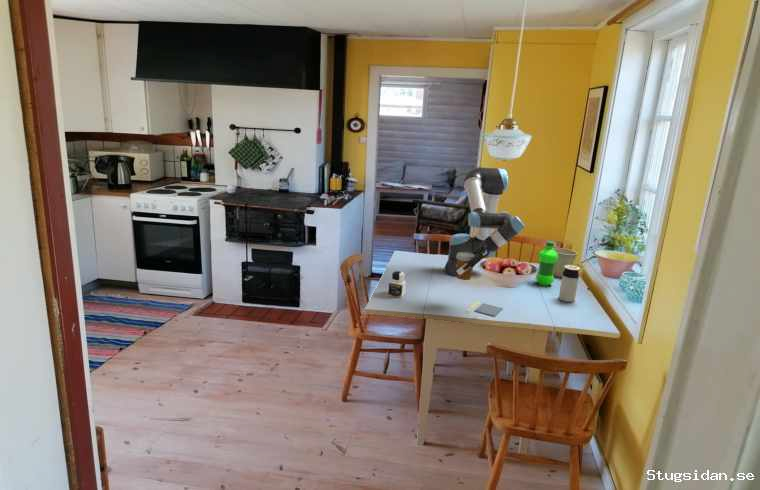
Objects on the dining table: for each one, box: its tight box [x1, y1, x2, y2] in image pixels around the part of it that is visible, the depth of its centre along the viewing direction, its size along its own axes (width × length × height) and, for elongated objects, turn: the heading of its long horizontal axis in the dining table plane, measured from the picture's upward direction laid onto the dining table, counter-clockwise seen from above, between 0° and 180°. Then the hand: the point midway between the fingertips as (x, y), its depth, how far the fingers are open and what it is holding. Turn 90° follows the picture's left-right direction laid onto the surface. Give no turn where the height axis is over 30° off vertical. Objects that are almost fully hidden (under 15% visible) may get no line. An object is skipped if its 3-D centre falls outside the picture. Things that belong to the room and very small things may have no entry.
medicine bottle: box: [387, 271, 407, 299], centre depth 245 cm, size 7×7×12 cm
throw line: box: [465, 301, 481, 313], centre depth 237 cm, size 1×16×1 cm, turn 149°
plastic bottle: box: [535, 241, 558, 287], centre depth 275 cm, size 10×10×25 cm
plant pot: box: [553, 247, 578, 278], centre depth 295 cm, size 15×15×16 cm
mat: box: [474, 302, 504, 317], centre depth 234 cm, size 10×12×1 cm
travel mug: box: [558, 265, 581, 303], centre depth 254 cm, size 8×8×18 cm
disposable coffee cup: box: [456, 252, 475, 281], centre depth 235 cm, size 10×10×12 cm
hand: (457, 270), depth 236 cm, fingers closed on disposable coffee cup, 8 cm apart
